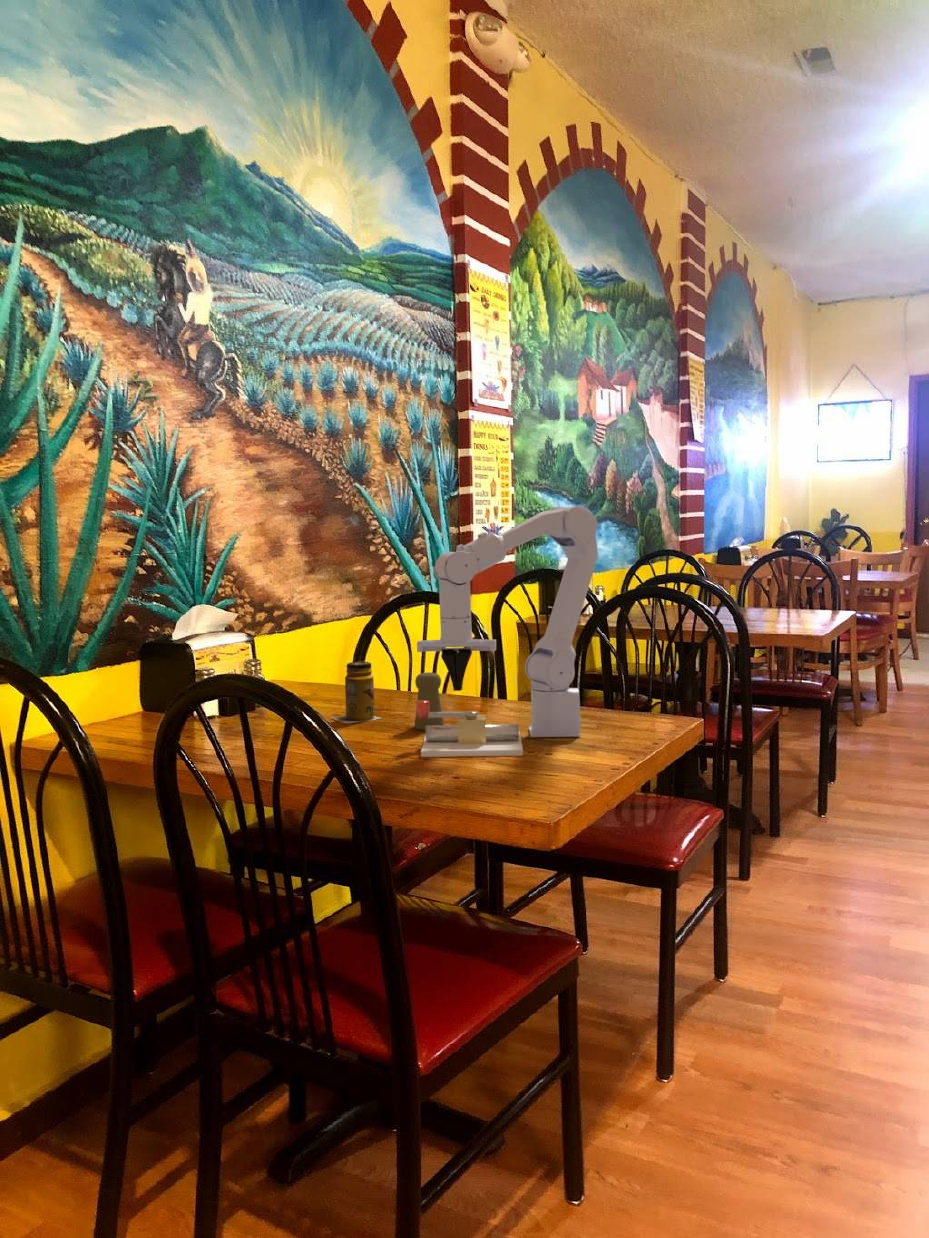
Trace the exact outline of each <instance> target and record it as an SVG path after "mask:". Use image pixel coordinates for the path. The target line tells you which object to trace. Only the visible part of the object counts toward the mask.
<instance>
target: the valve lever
mask: <svg viewBox="0 0 929 1238" xmlns="http://www.w3.org/2000/svg"><path fill="white" fill-rule="evenodd" d="M415 702H416V703H415V707H416V709H415V715H416V714H417V718H418V719H427V718H437V717H443V718H458V717H467V718H476V717H478V715H479V711H477V710H467V711H442V712H429V701H427V700H420V701H417V700H416V701H415Z"/></svg>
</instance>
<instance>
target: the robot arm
mask: <svg viewBox="0 0 929 1238" xmlns="http://www.w3.org/2000/svg"><path fill="white" fill-rule="evenodd" d="M598 526H599V523H598V521H597V519H596V517H595V516H594V514H593V512H592V511H591V510H590V509H589V508H588V507H586V506H584V505H575V506H566V507H565V506H564V507H562V506H554V507H552V508H550V509H549V510H543V511H542V512H539V513H537V514H535V515H534V516H531V517H529V519H526V520H524V521H522V522H521V523H519V524H516V525H515V526H514V527H511V528H510V529H508V530H507V531H506V530H505V531H504V532H502V533H501V534H500V535H498V534H495V533H493V532H488V533H487V532H481V533H478V534H477V538H476V539H474V540H472V541H470V542H468V543H466V544H458V545H456V547H455V548H456V550H455V551H446V552H443V553H441V554H440V555H439V556H438V557H437V559H436V561H435V564H434V566H433V567H432V570H433V573H434V576H435V577H436V578H437V580H438V582H439V584H438V585H439V588H438V589H439V595H438V596H439V617H440V619H439V620H440V622H439V623H440V624H439V625H440V639H431V640H430V639H428V640H427V639H426V640H425V639H423V640H418V641H417V642H416V650H417V653H424V652H441V659H442V661H443V663H444V665H445V667H446V669H447V671H448V674H449V676H450V680H451V684H452V688H453V691H454V692H458V691H459V692H460V691H461V692H462V690H463V684H464V678H465V673H466V670H467V667H468V664H469V662H470V659H471V657H472V655H473V652H483V651H484V652H485V651H487V652H496V651H497V639H485V638H483V639H482V638H481V639H480V638H479V639H478V638H477V639H476V638H473V637H472V636H473V635H472V634H473V633H472V630H473V629H472V603H471V601H472V600H471V599H472V598H471V581H472V580H473V579H474V576H475V575H476V574H477V575H478V574H479V573H481V572H483V571H485V570H487V569H489V568H491V567H492V566H495V565H496V564H498V563H500V562H502V561H504V560H505V558H506V556H507V553H508V551H509V550H512V549H514V548H516V547H517V548H518V547H519V546H520V545H523V544H525V543H528V542H529V541H532V540H534V539H536V538H538V537H541V536H549V538H551V539H552V540H553V541H554V542H555V543H556V544H558V546H559V547H560V548H561V550H562V551H563V552H564V555H565V556H566V558H567V561H566V565H565V567H564V571H563V574H562V577H561V581H560V584H559V587H558V591H557V594H556V597H555V600H554V604H553V607H552V610H551V613H550V617H549V620H548V623H547V626H546V630H545V633H544V635H543V636H542V637H541V638H540V639H539V640H538V641H537V642H536V643H535V646H534V648H533V651H532V652H531V654H529V656H528V657H527V658H526V661H525V663H524V670H525V671H524V672H525V674H526V676H527V678H528V679H529V680H530V693H531V695H530V696H531V697H530V700H531V703H530V704H531V705H530V707H531V709H530V710H531V725H530V726H528V732H529V735H530V738H561V737H562V738H567V737H570V738H573V737H581V725H582V718H581V701H580V690H579V688H577V687H570V685H571V683H572V682H573V680H574V678H575V674H576V672H575V671H576V670H575V660H576V656H577V653H576V651H575V649H574V646H573V640H574V636H575V634H576V631H577V627H578V624H579V620H580V616H581V613H582V610H583V607H584V603H585V600H586V597H587V593H588V590H589V588H590V584H591V581H592V577H593V574H594V570H595V569H596V568H595V567H596V564H597V561H598V557H599V552H598V543H597V542H598V541H597V530H598Z"/></svg>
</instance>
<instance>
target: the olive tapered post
mask: <svg viewBox="0 0 929 1238" xmlns="http://www.w3.org/2000/svg"><path fill="white" fill-rule="evenodd" d="M414 684H415V687H416V688H417V697H416V699H417V700H416V701H420V700H427V701H429V712H443V710H442V704H441V697H440V696H441V695H440V690H439V689H440V687H441V684H442V678H441V676H440V675H439V674H438V673H436V672H422V673H419V674H418V675H417V676H416V677H415V683H414ZM431 725H445V723H444V717H437V718H427V719H418V718H417V714H416V713H415V719H414V727H413V728H415V729H417V730H422V731H426V726H431Z"/></svg>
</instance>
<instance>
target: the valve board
mask: <svg viewBox="0 0 929 1238" xmlns="http://www.w3.org/2000/svg"><path fill="white" fill-rule="evenodd" d="M424 735H425V736H424V739H423V742H422V746H421V750H420V757H421V758H428V757H429V758H430V757H431V758H437V757H439V758H440V757H441V758H442V757H445V758H446V757H447V758H449V757H506V756H507V757H509V756H511V757H513V756H516V757H517V756H518V757H519V756H523V755H524V749H523V743H522V737H521V732H520V731H519V741H486V744H458V741H457V742H426V734H424Z"/></svg>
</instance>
